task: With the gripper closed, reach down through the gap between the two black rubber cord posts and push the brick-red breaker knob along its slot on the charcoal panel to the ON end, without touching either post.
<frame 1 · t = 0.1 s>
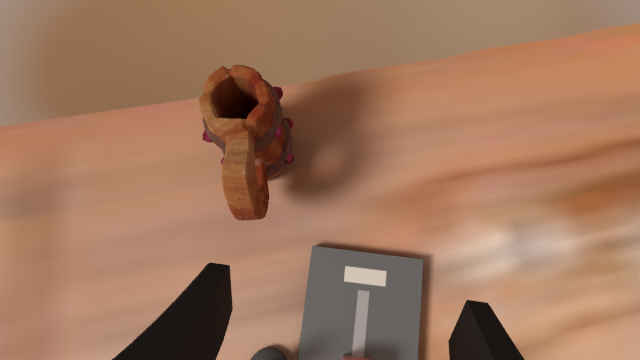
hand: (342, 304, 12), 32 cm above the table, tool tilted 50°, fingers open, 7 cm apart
breaker panel: (357, 349, 41), on the table
mug: (263, 172, 47), on the table
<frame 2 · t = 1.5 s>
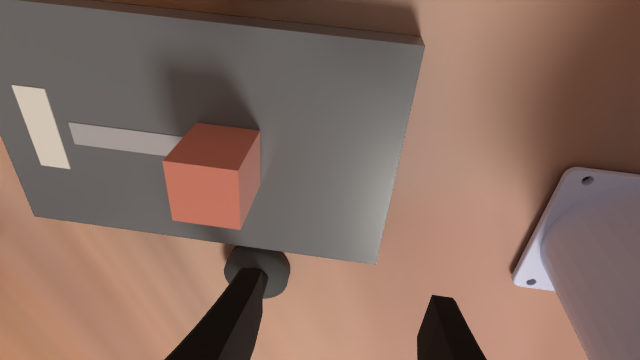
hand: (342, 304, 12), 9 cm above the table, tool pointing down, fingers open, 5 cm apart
cord post 2: (259, 265, 25), on the table
breaker knob: (217, 174, 17), point 3 cm above the table, slide at 0.0 cm
breaker panel: (201, 134, 20), on the table
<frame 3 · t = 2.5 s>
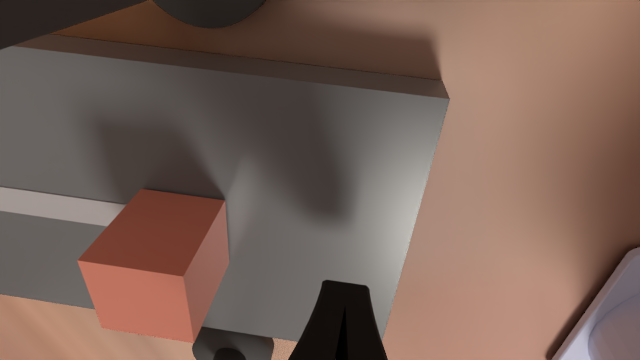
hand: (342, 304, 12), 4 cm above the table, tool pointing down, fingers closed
cord post 2: (236, 339, 21), on the table
breaker knob: (166, 261, 13), point 3 cm above the table, slide at 0.0 cm
breaker panel: (155, 194, 16), on the table
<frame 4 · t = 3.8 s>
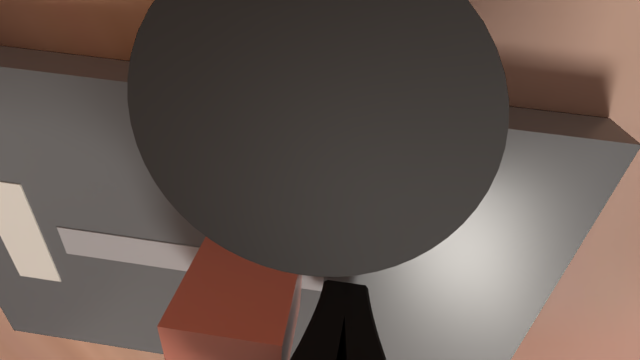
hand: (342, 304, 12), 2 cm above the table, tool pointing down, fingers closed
breaker knob: (242, 314, 11), point 3 cm above the table, slide at 1.2 cm, touching gripper
breaker panel: (246, 235, 14), on the table
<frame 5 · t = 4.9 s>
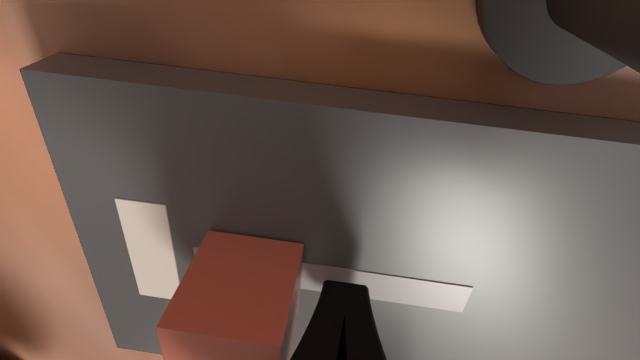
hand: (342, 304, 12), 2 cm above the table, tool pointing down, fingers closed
breaker knob: (241, 315, 11), point 3 cm above the table, slide at 5.9 cm, touching gripper
breaker panel: (374, 253, 14), on the table
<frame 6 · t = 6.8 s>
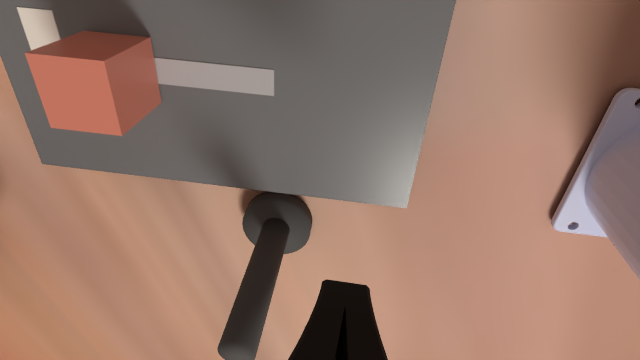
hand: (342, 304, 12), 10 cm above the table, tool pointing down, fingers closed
cord post 2: (279, 218, 24), on the table
breaker knob: (102, 81, 16), point 3 cm above the table, slide at 5.9 cm
breaker panel: (219, 65, 19), on the table
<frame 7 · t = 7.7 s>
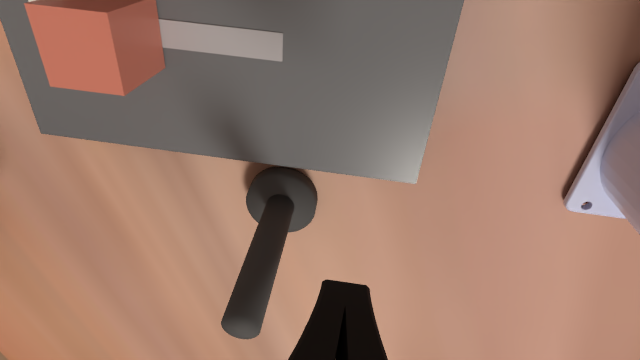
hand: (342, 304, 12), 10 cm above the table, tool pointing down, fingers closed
cord post 2: (283, 195, 23), on the table
breaker knob: (104, 40, 16), point 3 cm above the table, slide at 5.9 cm
breaker panel: (226, 31, 18), on the table
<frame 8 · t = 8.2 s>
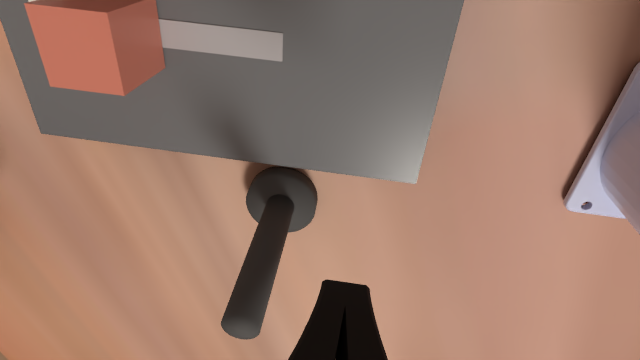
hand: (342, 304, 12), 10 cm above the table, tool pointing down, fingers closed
cord post 2: (283, 195, 23), on the table
breaker knob: (104, 40, 16), point 3 cm above the table, slide at 5.9 cm
breaker panel: (226, 31, 18), on the table
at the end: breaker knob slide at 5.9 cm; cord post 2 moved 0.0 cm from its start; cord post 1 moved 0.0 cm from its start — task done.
